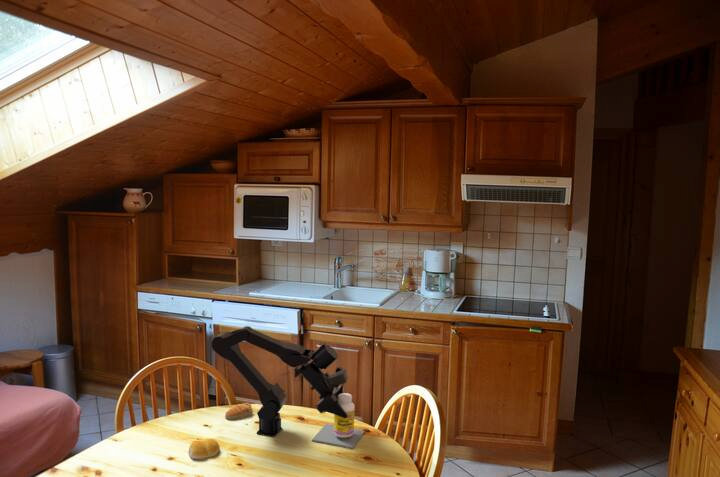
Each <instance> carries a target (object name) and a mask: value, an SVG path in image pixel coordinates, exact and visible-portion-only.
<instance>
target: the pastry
mask: <svg viewBox="0 0 720 477" xmlns="http://www.w3.org/2000/svg"><path fill="white" fill-rule="evenodd" d="M253 413H254V411H253V408H252V406H251V404H250V403H249V402H244V403H241V404H236V405H235V406H233V407H231V408H230V409H228V410H227V411H225V415H224V417H225V418H226V419H228V420H239V419H243V417H244V418H247V417H250V416H252V415H253Z"/></svg>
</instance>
